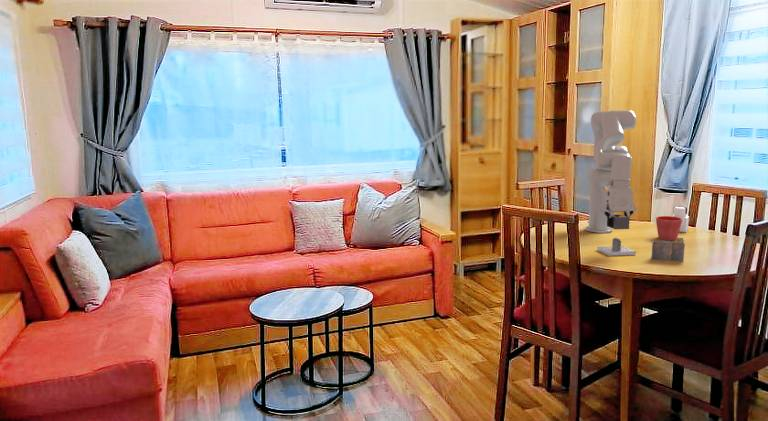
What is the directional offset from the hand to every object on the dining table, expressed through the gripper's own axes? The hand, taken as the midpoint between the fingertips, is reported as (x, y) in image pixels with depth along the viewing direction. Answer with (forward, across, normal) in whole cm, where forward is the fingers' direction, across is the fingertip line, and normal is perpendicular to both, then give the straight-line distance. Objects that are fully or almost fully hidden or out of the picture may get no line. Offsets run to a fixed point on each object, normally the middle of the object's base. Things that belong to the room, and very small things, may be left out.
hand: (617, 226), depth 240 cm
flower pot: (+11, +37, +22) cm, 45 cm away
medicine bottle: (+11, +53, +38) cm, 67 cm away
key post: (+11, 0, 0) cm, 11 cm away
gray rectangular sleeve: (+1, 0, 0) cm, 1 cm away
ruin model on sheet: (+12, +14, -13) cm, 23 cm away
